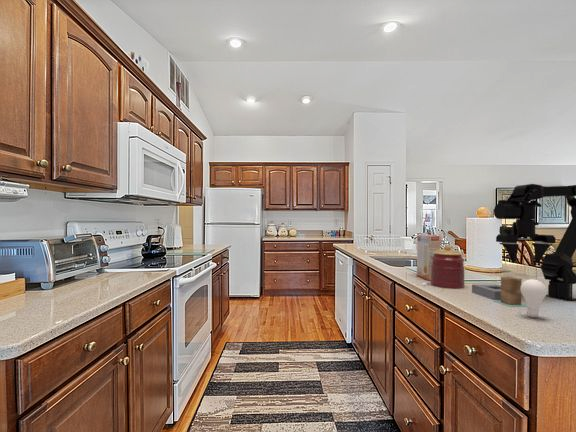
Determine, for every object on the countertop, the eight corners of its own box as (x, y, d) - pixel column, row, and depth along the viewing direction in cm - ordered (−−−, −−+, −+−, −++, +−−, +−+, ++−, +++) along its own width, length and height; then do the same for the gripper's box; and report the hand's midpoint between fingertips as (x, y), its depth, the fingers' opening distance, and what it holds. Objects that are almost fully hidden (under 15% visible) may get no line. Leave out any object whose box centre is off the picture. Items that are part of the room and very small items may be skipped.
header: (496, 293, 127) (496, 284, 127) (521, 301, 115) (521, 291, 115) (471, 293, 126) (472, 284, 126) (494, 301, 114) (494, 291, 114)
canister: (436, 289, 133) (436, 245, 133) (426, 283, 146) (426, 243, 146) (470, 290, 131) (470, 246, 131) (457, 284, 144) (457, 243, 144)
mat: (512, 302, 113) (512, 300, 113) (529, 308, 106) (529, 306, 106) (493, 302, 112) (493, 300, 112) (509, 308, 105) (509, 306, 105)
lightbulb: (547, 321, 92) (548, 282, 92) (520, 318, 95) (521, 279, 95) (544, 316, 97) (545, 279, 97) (519, 313, 100) (519, 276, 100)
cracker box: (441, 281, 151) (441, 235, 151) (427, 281, 151) (428, 235, 151) (428, 275, 165) (428, 234, 165) (416, 275, 165) (416, 233, 165)
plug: (511, 301, 111) (511, 276, 111) (521, 305, 107) (522, 278, 107) (500, 301, 111) (500, 276, 111) (509, 305, 107) (510, 278, 107)
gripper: (530, 219, 127) (530, 260, 127) (485, 219, 125) (485, 260, 125) (557, 219, 116) (556, 264, 116) (508, 219, 114) (507, 264, 114)
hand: (525, 262), depth 118 cm, fingers open, 9 cm apart
